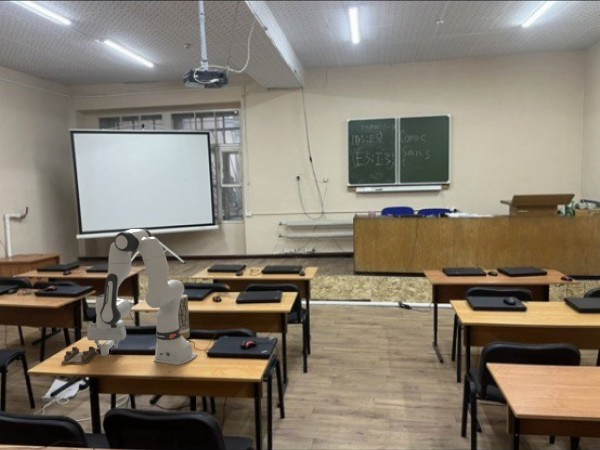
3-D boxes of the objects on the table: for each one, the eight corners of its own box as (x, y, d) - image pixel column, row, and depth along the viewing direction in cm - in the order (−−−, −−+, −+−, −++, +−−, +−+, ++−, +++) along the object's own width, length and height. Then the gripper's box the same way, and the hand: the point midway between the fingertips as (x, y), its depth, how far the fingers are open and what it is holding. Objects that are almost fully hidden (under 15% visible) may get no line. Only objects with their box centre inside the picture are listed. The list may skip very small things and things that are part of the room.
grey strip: (109, 347, 228) (108, 339, 228) (114, 346, 229) (114, 339, 228) (101, 356, 216) (100, 348, 216) (107, 356, 217) (106, 347, 216)
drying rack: (98, 353, 219) (98, 344, 219) (86, 363, 207) (85, 353, 207) (75, 354, 220) (74, 344, 219) (61, 363, 208) (60, 354, 207)
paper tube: (187, 339, 236) (185, 297, 234) (176, 339, 236) (173, 297, 234) (191, 335, 243) (188, 294, 240) (179, 335, 243) (177, 294, 241)
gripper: (83, 325, 218) (85, 349, 220) (121, 325, 217) (122, 349, 219) (90, 321, 224) (91, 345, 226) (126, 320, 224) (128, 345, 225)
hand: (107, 347), depth 222 cm, fingers open, 8 cm apart
